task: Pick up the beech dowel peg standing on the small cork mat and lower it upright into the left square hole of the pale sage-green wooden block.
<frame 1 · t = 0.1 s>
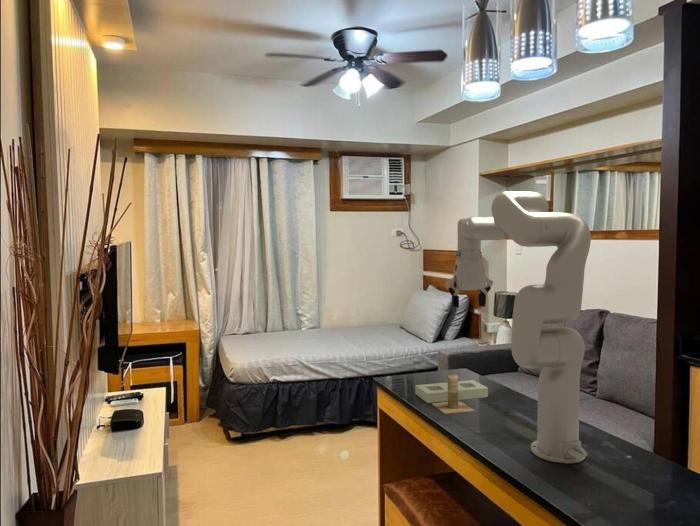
hand: (468, 306, 167), 31 cm above the table, tool pointing down, fingers open, 9 cm apart
hole block: (451, 396, 170), on the table
peg: (452, 407, 158), resting on cork mat
cork mat: (452, 408, 158), on the table
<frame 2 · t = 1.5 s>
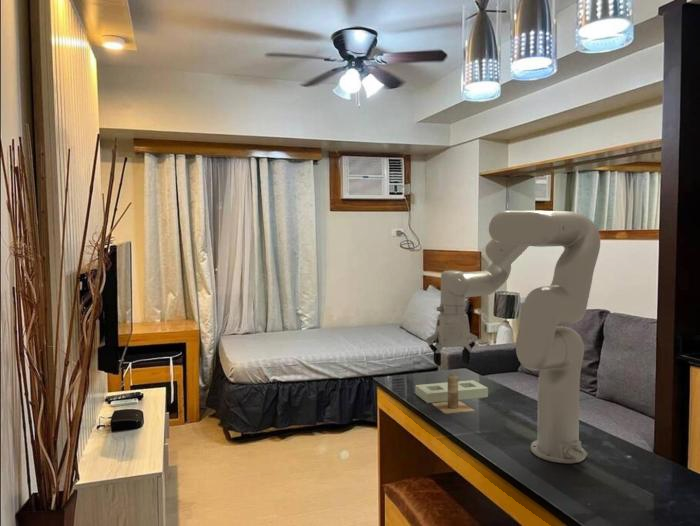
hand: (451, 363, 158), 14 cm above the table, tool pointing down, fingers open, 9 cm apart
nothing on the table moved.
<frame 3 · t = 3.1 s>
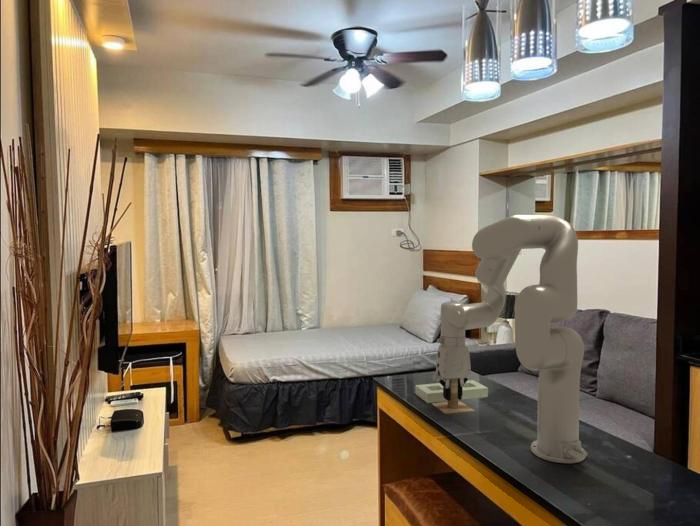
hand: (452, 398, 158), 3 cm above the table, tool pointing down, fingers closed on peg, 3 cm apart
peg: (452, 407, 158), resting on cork mat, touching gripper
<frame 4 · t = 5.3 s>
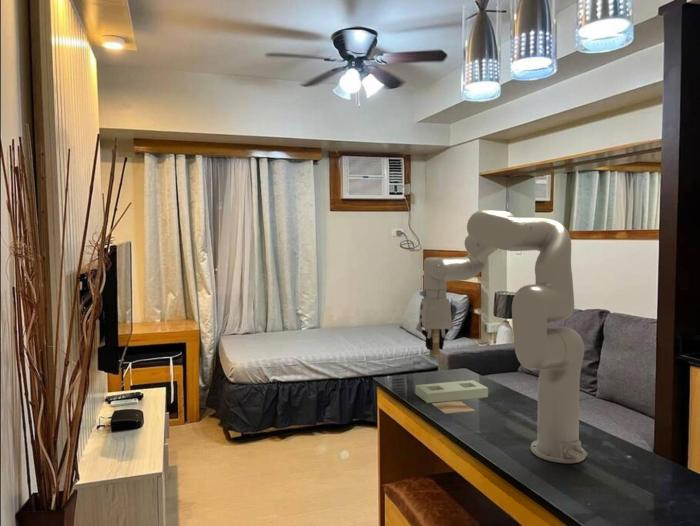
hand: (434, 348, 167), 17 cm above the table, tool pointing down, fingers closed on peg, 3 cm apart
peg: (434, 356, 168), point 14 cm above the table, touching gripper
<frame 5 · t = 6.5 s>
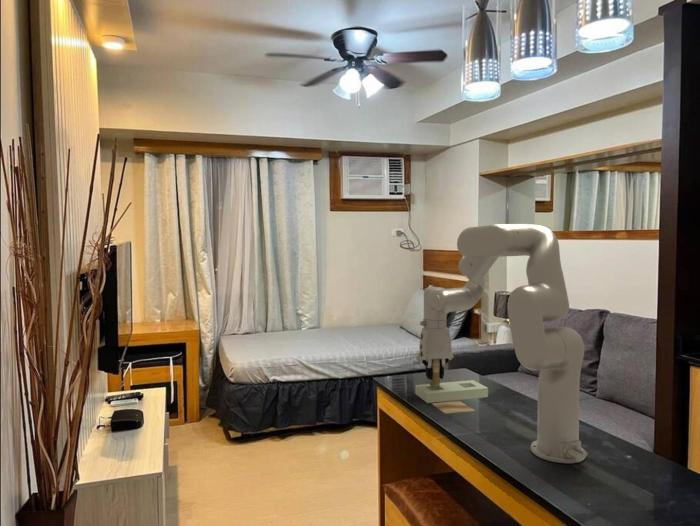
hand: (434, 377, 168), 7 cm above the table, tool pointing down, fingers closed on peg, 3 cm apart
peg: (434, 385, 168), point 4 cm above the table, touching gripper
when the fingers open (4 cm above the table, at t = 7.3 s): peg drops 1 cm, resting in hole block.
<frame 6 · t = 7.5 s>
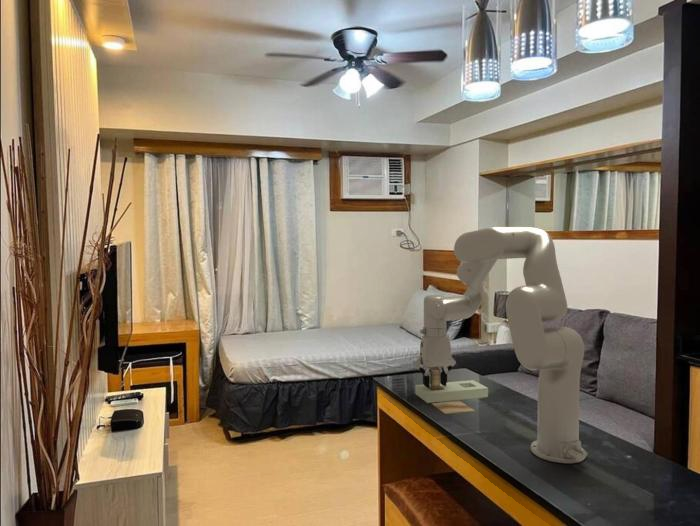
hand: (435, 385, 168), 4 cm above the table, tool pointing down, fingers open, 5 cm apart
peg: (435, 398, 168), resting in hole block
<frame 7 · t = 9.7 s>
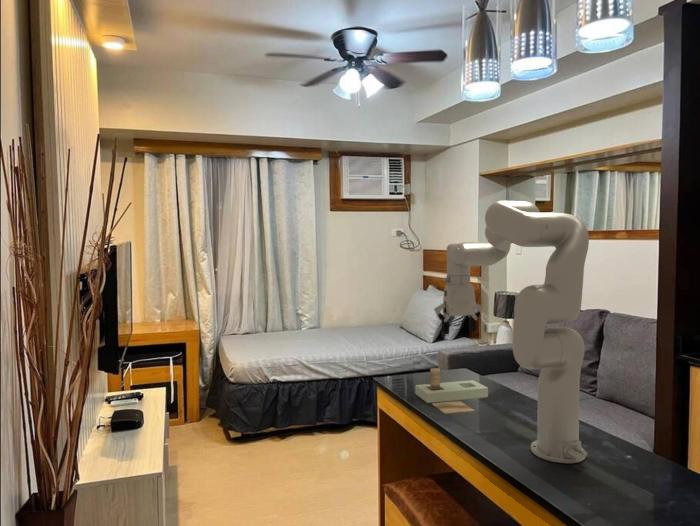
hand: (459, 332, 165), 23 cm above the table, tool pointing down, fingers open, 9 cm apart
nothing on the table moved.
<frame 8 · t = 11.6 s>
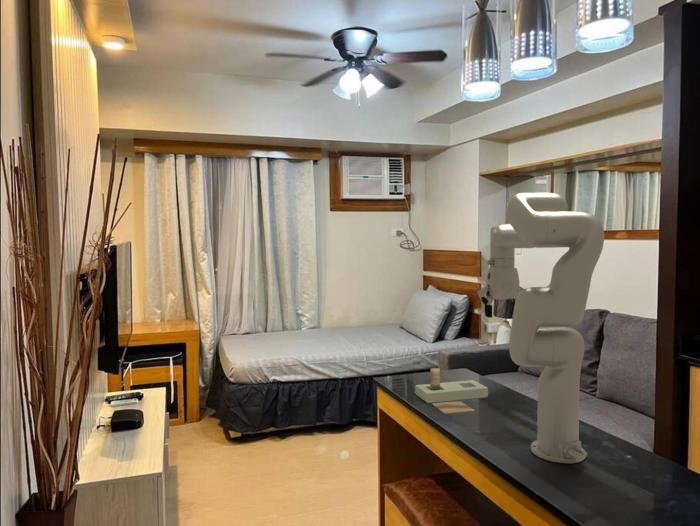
hand: (502, 316, 162), 28 cm above the table, tool pointing down, fingers open, 9 cm apart
nothing on the table moved.
at the end: peg 0.0 cm from the target spot on the hole block, point 0.0 cm above the hole block's base; peg tilted 0°; the gripper is holding nothing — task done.
